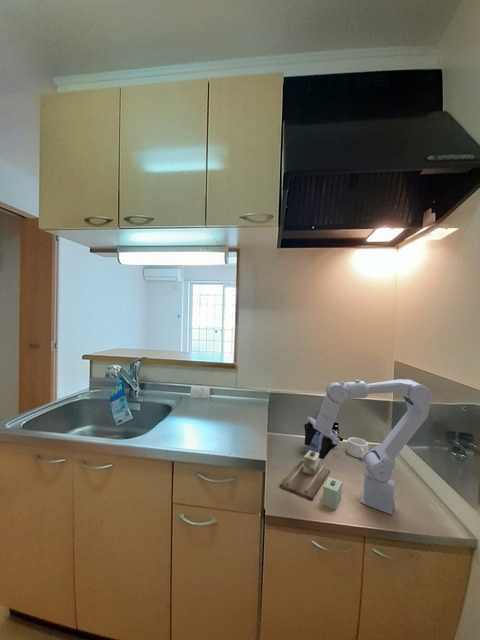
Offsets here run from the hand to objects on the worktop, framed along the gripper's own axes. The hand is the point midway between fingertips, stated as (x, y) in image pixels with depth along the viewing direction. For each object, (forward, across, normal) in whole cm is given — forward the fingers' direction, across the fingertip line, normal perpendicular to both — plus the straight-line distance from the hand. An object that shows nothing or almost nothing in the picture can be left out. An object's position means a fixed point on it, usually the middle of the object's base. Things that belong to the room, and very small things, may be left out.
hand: (313, 451), depth 98 cm
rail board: (+14, -5, +7) cm, 17 cm away
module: (+12, +9, +6) cm, 16 cm away
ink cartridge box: (+13, -20, +26) cm, 35 cm away
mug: (+8, -12, +43) cm, 45 cm away
